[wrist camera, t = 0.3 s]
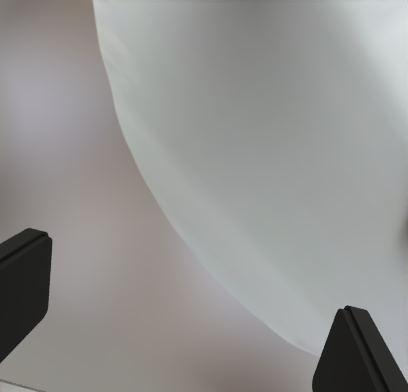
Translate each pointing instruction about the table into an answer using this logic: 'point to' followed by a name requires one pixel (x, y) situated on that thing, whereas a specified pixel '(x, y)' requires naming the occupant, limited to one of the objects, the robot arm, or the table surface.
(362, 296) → the table surface
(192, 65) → the table surface
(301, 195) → the table surface
